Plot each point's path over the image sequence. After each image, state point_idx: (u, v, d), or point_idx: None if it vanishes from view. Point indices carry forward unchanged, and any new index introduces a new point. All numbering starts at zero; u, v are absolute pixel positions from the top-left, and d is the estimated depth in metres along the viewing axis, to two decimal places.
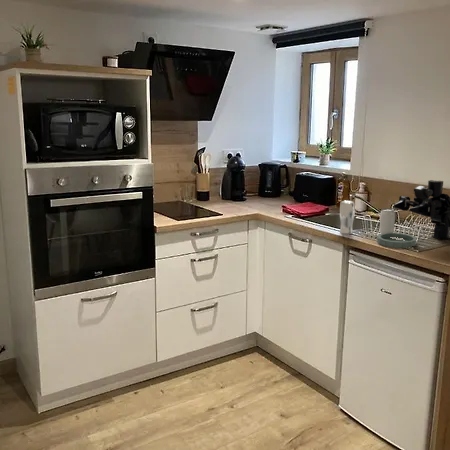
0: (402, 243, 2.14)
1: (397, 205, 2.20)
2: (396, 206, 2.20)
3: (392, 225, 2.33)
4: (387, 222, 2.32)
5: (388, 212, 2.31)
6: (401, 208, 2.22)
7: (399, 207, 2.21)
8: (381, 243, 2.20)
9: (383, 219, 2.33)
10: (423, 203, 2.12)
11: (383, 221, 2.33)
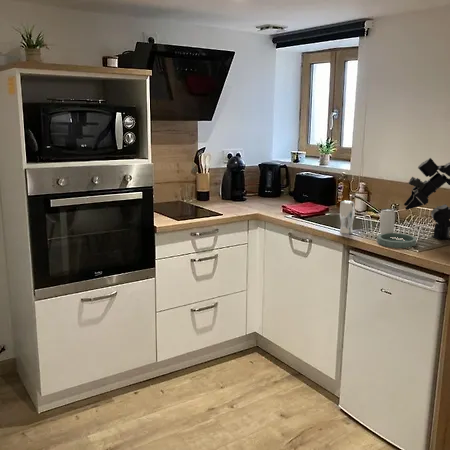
0: (402, 243, 2.14)
1: (407, 202, 2.34)
2: (407, 203, 2.35)
3: (392, 225, 2.33)
4: (387, 222, 2.32)
5: (388, 212, 2.31)
6: None
7: None
8: (381, 243, 2.20)
9: (383, 219, 2.33)
10: (413, 196, 2.23)
11: (383, 221, 2.33)
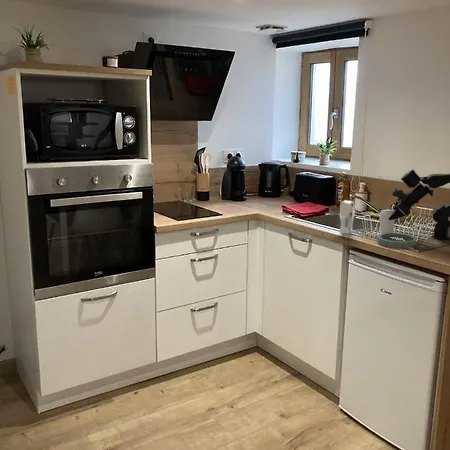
0: (402, 243, 2.14)
1: None
2: None
3: (392, 225, 2.33)
4: (387, 222, 2.32)
5: (388, 212, 2.31)
6: None
7: None
8: (381, 243, 2.20)
9: (383, 219, 2.33)
10: (396, 207, 2.27)
11: (383, 221, 2.33)
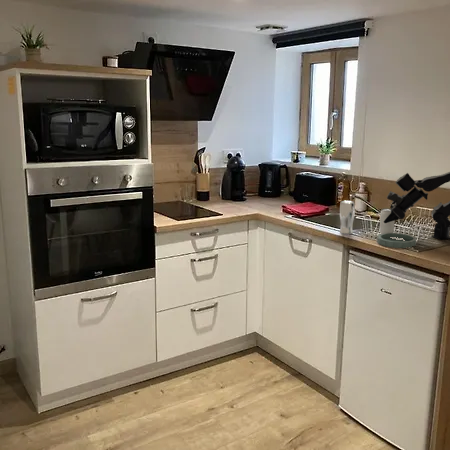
0: (402, 243, 2.14)
1: None
2: None
3: (392, 225, 2.33)
4: None
5: (388, 212, 2.31)
6: None
7: None
8: (381, 243, 2.20)
9: (383, 219, 2.33)
10: (391, 210, 2.29)
11: (383, 221, 2.33)
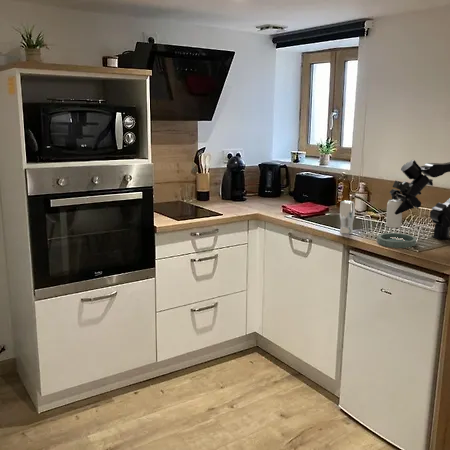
0: (402, 243, 2.14)
1: None
2: None
3: (401, 216, 2.22)
4: None
5: (398, 202, 2.19)
6: None
7: None
8: (381, 243, 2.20)
9: (394, 210, 2.20)
10: (403, 200, 2.17)
11: (394, 212, 2.20)
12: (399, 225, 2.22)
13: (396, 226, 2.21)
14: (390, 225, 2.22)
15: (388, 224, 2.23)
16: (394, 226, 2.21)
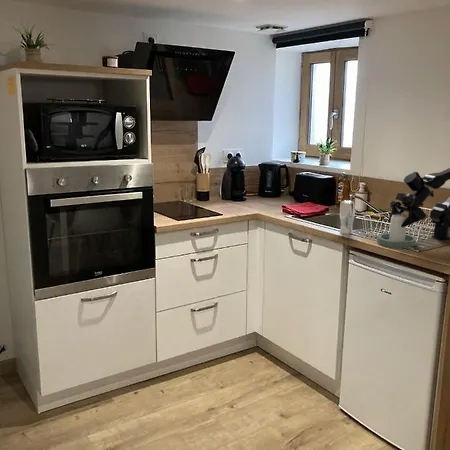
0: (402, 243, 2.14)
1: None
2: None
3: (405, 230, 2.20)
4: (403, 228, 2.18)
5: (403, 217, 2.17)
6: None
7: None
8: (381, 243, 2.20)
9: (398, 225, 2.18)
10: (410, 213, 2.14)
11: (398, 227, 2.18)
12: (403, 240, 2.20)
13: (400, 241, 2.19)
14: (394, 240, 2.20)
15: (392, 239, 2.21)
16: (399, 241, 2.19)
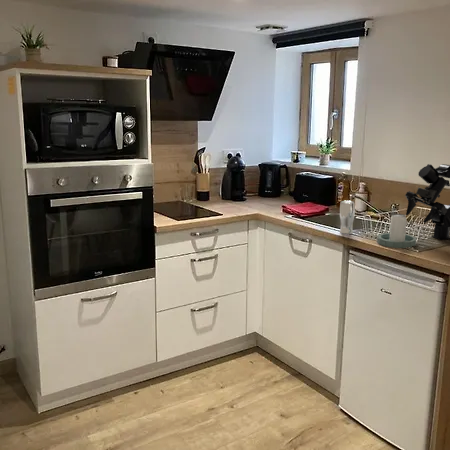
0: (402, 243, 2.14)
1: (409, 211, 2.26)
2: (408, 212, 2.26)
3: (405, 230, 2.20)
4: (402, 228, 2.18)
5: (403, 217, 2.17)
6: (413, 207, 2.27)
7: (411, 209, 2.27)
8: (381, 243, 2.20)
9: (398, 225, 2.18)
10: (432, 209, 2.16)
11: (398, 227, 2.18)
12: (403, 240, 2.20)
13: (400, 241, 2.19)
14: (394, 240, 2.20)
15: (392, 239, 2.21)
16: (399, 241, 2.19)
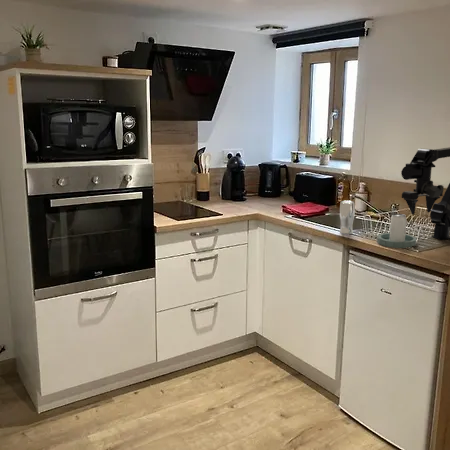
0: (402, 243, 2.14)
1: None
2: None
3: (405, 230, 2.20)
4: (403, 229, 2.18)
5: (403, 217, 2.17)
6: None
7: None
8: (381, 243, 2.20)
9: (398, 225, 2.18)
10: (436, 199, 2.20)
11: (398, 227, 2.18)
12: (403, 240, 2.20)
13: (401, 241, 2.19)
14: (394, 240, 2.20)
15: (392, 239, 2.21)
16: (399, 241, 2.19)
